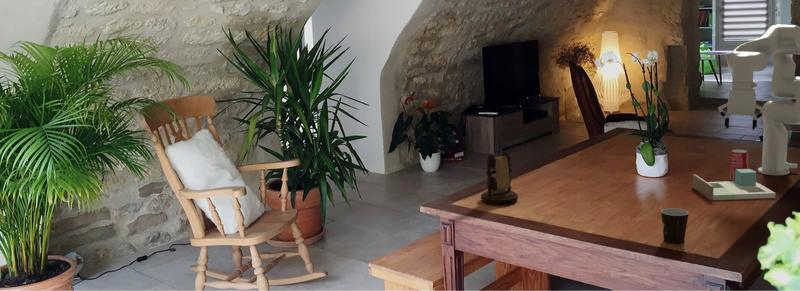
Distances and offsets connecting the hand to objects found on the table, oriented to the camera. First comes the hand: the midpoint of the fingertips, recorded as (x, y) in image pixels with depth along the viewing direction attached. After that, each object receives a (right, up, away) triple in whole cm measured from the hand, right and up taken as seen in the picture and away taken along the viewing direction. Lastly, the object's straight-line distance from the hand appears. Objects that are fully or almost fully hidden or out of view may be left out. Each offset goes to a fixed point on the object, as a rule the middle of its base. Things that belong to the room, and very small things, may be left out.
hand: (740, 128), depth 317 cm
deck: (-2, -26, +3) cm, 26 cm away
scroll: (-95, -29, +4) cm, 100 cm away
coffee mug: (-45, -39, -53) cm, 80 cm away
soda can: (+8, -22, +20) cm, 31 cm away
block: (+5, -22, +7) cm, 24 cm away
